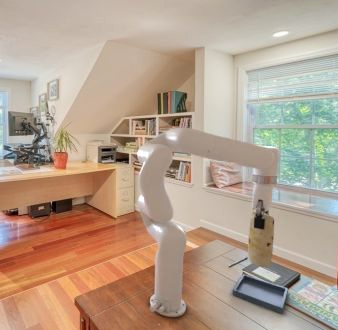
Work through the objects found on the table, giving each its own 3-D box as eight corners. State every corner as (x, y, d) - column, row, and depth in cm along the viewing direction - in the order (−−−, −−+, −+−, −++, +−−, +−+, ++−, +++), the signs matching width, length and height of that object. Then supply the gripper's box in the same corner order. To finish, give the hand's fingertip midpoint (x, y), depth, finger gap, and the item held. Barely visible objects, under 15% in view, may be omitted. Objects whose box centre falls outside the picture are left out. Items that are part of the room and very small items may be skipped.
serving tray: (282, 314, 89) (282, 308, 89) (232, 294, 99) (232, 289, 99) (287, 293, 100) (288, 288, 100) (242, 278, 111) (243, 273, 110)
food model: (276, 268, 94) (281, 216, 92) (261, 270, 93) (265, 217, 91) (254, 256, 104) (258, 208, 101) (240, 257, 103) (243, 209, 100)
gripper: (257, 175, 103) (254, 217, 105) (247, 181, 91) (244, 229, 93) (280, 177, 98) (276, 222, 100) (272, 184, 86) (268, 234, 88)
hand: (261, 225), depth 97 cm, fingers closed on food model, 7 cm apart
